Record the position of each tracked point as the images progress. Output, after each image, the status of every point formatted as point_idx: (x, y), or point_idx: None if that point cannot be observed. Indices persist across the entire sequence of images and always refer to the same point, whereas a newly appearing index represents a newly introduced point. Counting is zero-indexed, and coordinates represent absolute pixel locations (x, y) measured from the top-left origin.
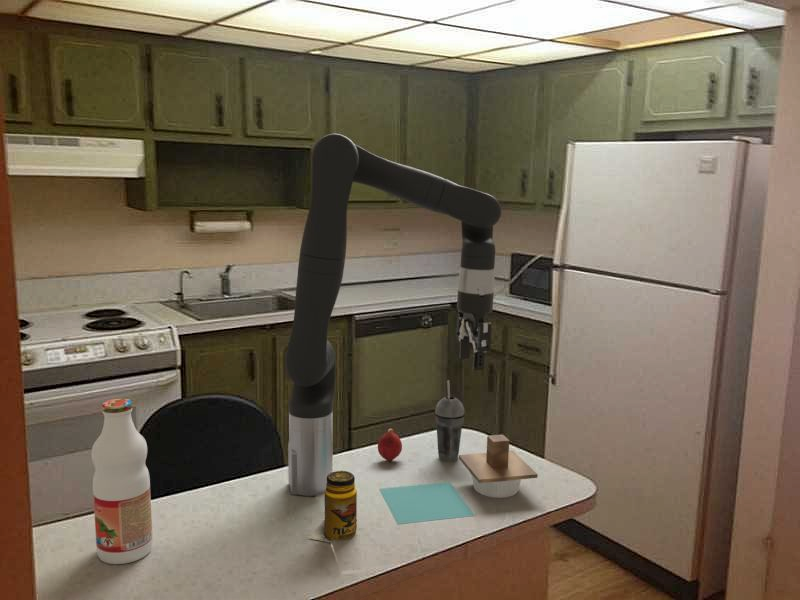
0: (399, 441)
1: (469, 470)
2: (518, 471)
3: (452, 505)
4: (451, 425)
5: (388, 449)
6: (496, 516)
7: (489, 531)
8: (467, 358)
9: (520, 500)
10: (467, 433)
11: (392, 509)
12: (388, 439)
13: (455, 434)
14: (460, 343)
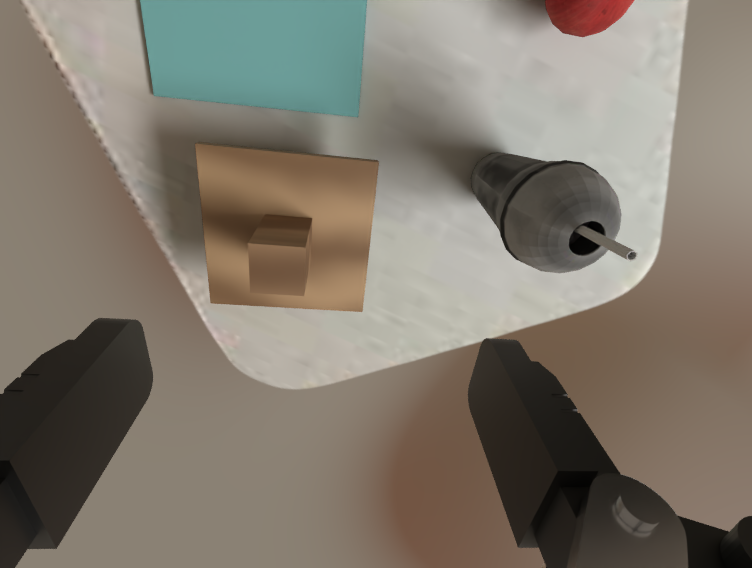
0: (574, 12)
1: (281, 150)
2: (234, 269)
3: (219, 59)
4: (500, 197)
5: None
6: (161, 153)
7: (82, 99)
8: (470, 385)
9: None
10: (606, 287)
11: None
12: None
13: (490, 205)
14: (567, 454)
